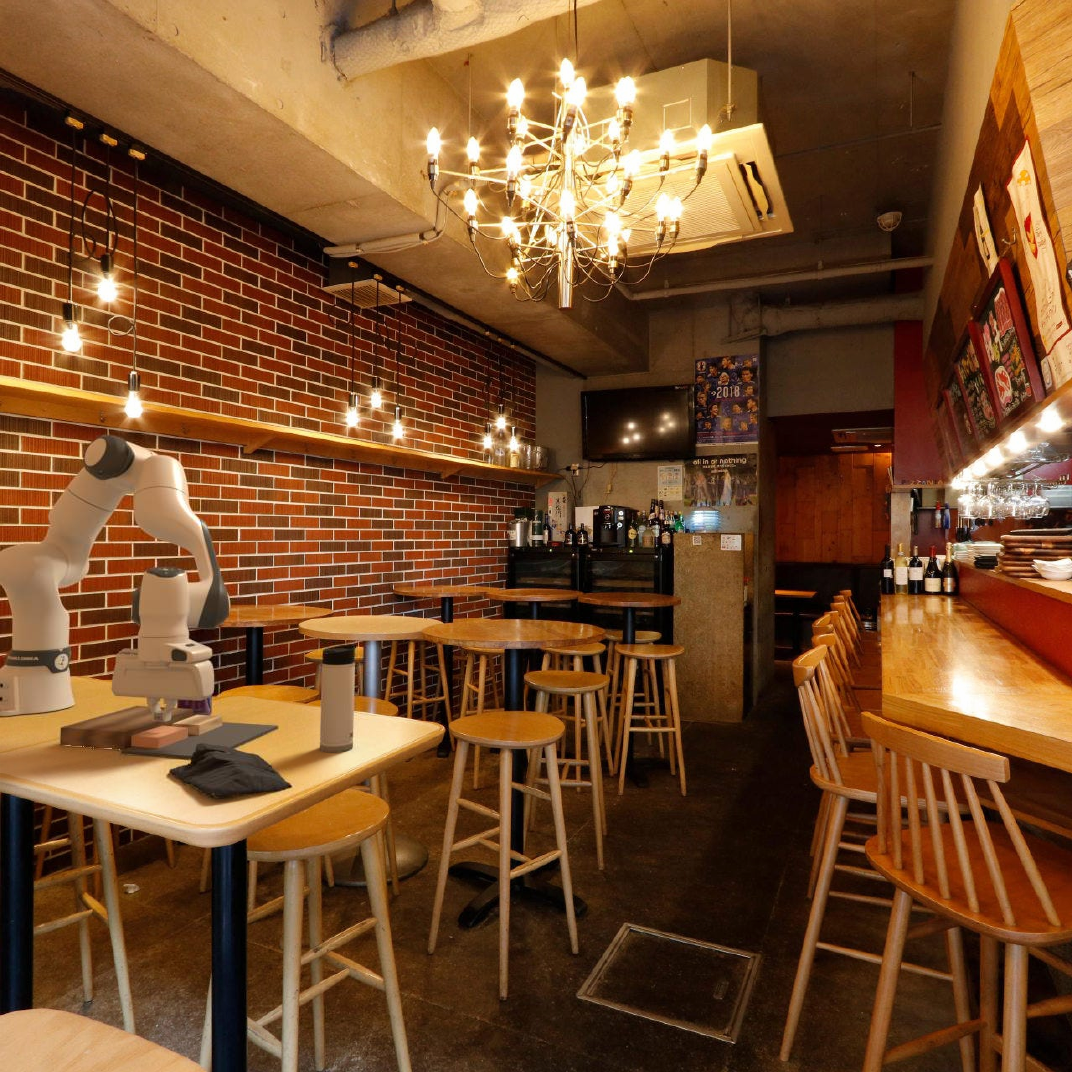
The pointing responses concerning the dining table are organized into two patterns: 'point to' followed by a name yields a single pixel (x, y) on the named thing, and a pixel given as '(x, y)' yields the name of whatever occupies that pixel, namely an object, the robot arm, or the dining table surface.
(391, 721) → the dining table surface
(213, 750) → the crumpled black cloth
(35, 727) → the dining table surface
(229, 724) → the mat
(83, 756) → the dining table surface
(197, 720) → the tan rectangular block
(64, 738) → the walnut board
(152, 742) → the tilted orange prism
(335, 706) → the travel mug
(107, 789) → the dining table surface
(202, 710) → the beverage can
